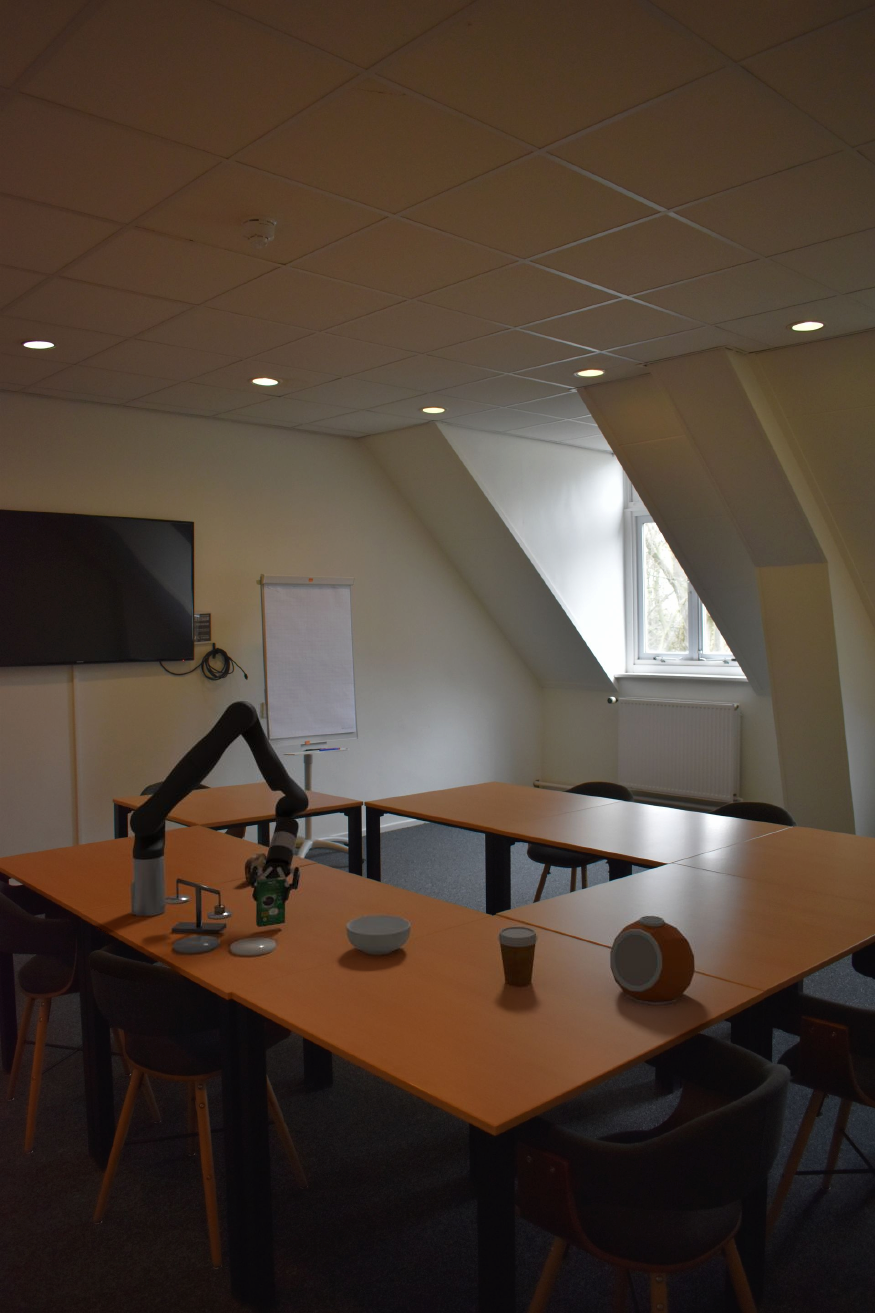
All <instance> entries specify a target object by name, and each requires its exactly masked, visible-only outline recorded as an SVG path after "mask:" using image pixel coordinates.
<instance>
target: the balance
mask: <svg viewBox="0 0 875 1313" xmlns="http://www.w3.org/2000/svg"><path fill="white" fill-rule="evenodd" d="M179 884H181V885H185V886H188V887H191V888H194V890H195V921H193V922H192V921H178V923H177V924H175V925H174V926H172V928H171V933H172V932H179V933H178V934H206V935H207V934H209V935H210V934H213V935H219V934H220V933H222V932H223V931H224V930H225V929H226V928H227V923H226V922H203V910H202V908H203V907H202V905H203V904H202V891H204V892H208V893H211V894H214V895H218V897H217V898H218V904H215V905H214V910H211V911H208V912H207V918H208V919H209V920H213V921H214V920H216V921H217V920H226V919H230V918H231V917H232V916H233V911H232V910H230V909H226V905H225V904H222V900H221V897H222V896H221V890H219V889H215V888H212V887H209V886H206V885H202V884H199V883H195V882H192V881H189V880H185V879H182V878H176V880H175V886H176V887H175V888H176V890H175V891H176V892H175V893H176V894H173V895H170V896H167V897H165V903H166V905H167V904H168V905H181V904H186V903H189V902H190V901H191V896H190V895H189V894H188V895H187V894H179V893H180V892H179ZM221 931H222V932H221Z"/></svg>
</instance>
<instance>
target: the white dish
mask: <svg viewBox="0 0 875 1313" xmlns="http://www.w3.org/2000/svg"><path fill="white" fill-rule="evenodd" d="M229 949H230V953H231V952H232V954H233V955H236V956H239V957H240V956H241V957H258V956H262V955H266V954H269V953H271V952H273V951H275V950H276V949H277V944H276V941H275V940H273V939H271V938H268V937H247V938H243V939H242V938H241V939H239V940H237V941H234V942H232V943H231V945H230V948H229Z"/></svg>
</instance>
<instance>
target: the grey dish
mask: <svg viewBox="0 0 875 1313" xmlns="http://www.w3.org/2000/svg"><path fill="white" fill-rule="evenodd" d="M219 946H220V940H219V938H217V937H215V936H210V935H195V936H194V935H193V936H189V937H184V938H181V939H179V940H177V941H175V942H174V943H173V951H174V952H175V953H177V954H182V955H198V954H204V953H208V952H211V951H214V950H216V949H217V948H219Z"/></svg>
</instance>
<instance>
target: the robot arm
mask: <svg viewBox="0 0 875 1313" xmlns="http://www.w3.org/2000/svg"><path fill="white" fill-rule="evenodd" d="M260 720H261V719H260V717H259V715H258V712H257V708H256V707H255V706H254V705H253V704H252V703H250V702H248V701H244V700H239V701H235V702H232V703H231V704H230V705H228V707H227V708H225V711H224V712H223V713H222V715H221V716H220V717H219V719H218V720H217V722H216V723H215V724H214V726H212V728H211V730H210V731H208V732H207V734H206V735H204V736H203V737H202V738H201V739H199V741H198V742H196V744H195V745H193V747H191V748H190V750H189V751H187V752H186V753H185V754H184V756H183V757H182V758H181V759H180V760H179V761H178V762H177V763H176V765H175V766H174V768H173V769H172V770H171V771H170V772H169V773H168V775H167V776H166V777H165V779H164V780H163V782H162V783H161V784H160V785H159V787H158V788H157V790H155V792H154V793H153V794H152V795H151V796H150V797H149V798H147V800H145V801H144V802H143V803H142V804H141V805H139V806H138V807H137V808H135V810H134V811H133V812H132V813H131V815H130V819H129V828H130V830H131V832H133V834H134V842H133V845H132V847H133V848H132V875H133V878H132V882H131V883H130V906H131V907H130V909H131V910H130V912H131V914H130V915H135V916H137V917H153V916H158V915H161V914H163V913H165V912H166V911H167V910H166V909H167V908H166V905H167V903H165V898H166V877H165V876H166V874H165V873H166V872H165V871H166V870H165V846H166V818H167V817H168V816H169V814H171V812H172V811H173V810H174V808H175V807H176V806H178V804H180V802H182V801H183V800H184V799H185V798H186V797H188V796H189V795H190V794H191V793H192V792H193V791H194V790H195V789H197V787H198V786H199V785H200V784H201V783H202V782H203V781H204V780H205V779H206V778H207V777H208V776H209V774H211V772H212V771H213V770H214V768H215V766H217V764H218V763H219V761H220V760H221V758H222V756H223V755H224V753H225V752H226V751H227V749H228V748H229V746H230V745H231V744H233V743H234V742H235V740H237V739H238V738H239V737H240V736H241V737H242V738H243V740H244V741H245V743H246V744H247V746H248V747H249V749H250V752H251V754H252V756H253V758H254V761H255V763H256V766H257V767H258V770H259V772H260V774H261V775H262V778H263V779H264V781H265V783H266V785H267V786H268V788H269V789H270V791H272V792H281V793H282V794H283V796H282V797H280V798H279V799H278V800H277V802H276V805H275V808H274V809H275V810H274V811H275V812H274V815H275V818H274V820H275V825H274V826H275V827H274V830H273V834H272V838H271V840H270V842H269V846H268V851H267V854H266V857H267V858H266V862H265V866H264V867H263V868H258V867H257V866H254V867H253V870H252V873H251V877H250V880H249V883H248V884H249V886H250V888H251V889H253V892H252V895H251V896H252V898H253V900H254V902H256V896H257V882H256V881H257V878H258V876H259V875H260V873H261V872H263V875H262V876H261V877H260V878H259V880H260V879H269V878H278V877H281V878H285V888H284V890H283V895H282V902H283V903H285V904H286V902H288V900H289V898H290V893H291V891H293V890H298V887H299V882H300V876H301V870H300V868H299V867H298V866H296V867H294V868H292V864H293V859H294V854H295V853H296V852H295V851H296V844H297V843H296V842H297V837H298V833H299V829H300V828H299V827H300V825H299V822H298V821H297V820H296V819H295V818H294V817H296V816H299V815H300V814H302V813H304V812H305V811H307V810H308V808H309V806H310V803H309V802H310V801H309V797H308V795H307V793H306V791H305V790H303V788H302V787H301V786H300V785H299V784H298V783H297V782H296V781H295V780H294V779H293V778H292V777H291V776H290V775H289V773H288V771H287V770H286V767H285V766H284V764H283V763H282V761H281V759H280V757H279V756H278V754H277V753H276V751H275V749H274V747H273V746H272V744H271V742H270V741H269V739H268V737H267V735H266V733H265V730H264V728H263V725H262V723H261V721H260ZM290 875H291V876H292V881H291V883H289V881H288V879H287V878H288V877H289V876H290Z"/></svg>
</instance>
